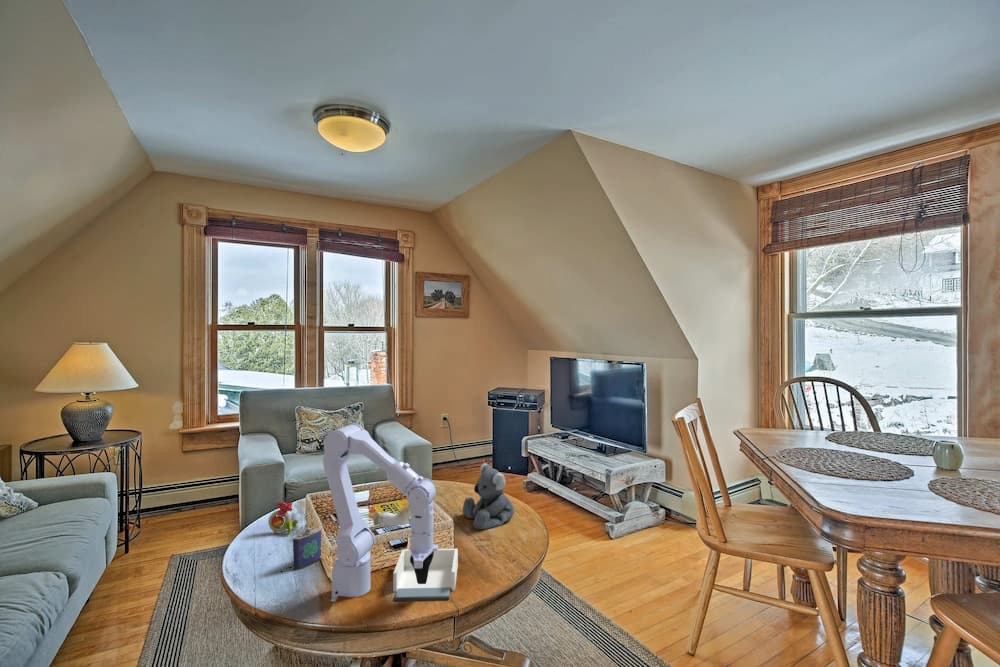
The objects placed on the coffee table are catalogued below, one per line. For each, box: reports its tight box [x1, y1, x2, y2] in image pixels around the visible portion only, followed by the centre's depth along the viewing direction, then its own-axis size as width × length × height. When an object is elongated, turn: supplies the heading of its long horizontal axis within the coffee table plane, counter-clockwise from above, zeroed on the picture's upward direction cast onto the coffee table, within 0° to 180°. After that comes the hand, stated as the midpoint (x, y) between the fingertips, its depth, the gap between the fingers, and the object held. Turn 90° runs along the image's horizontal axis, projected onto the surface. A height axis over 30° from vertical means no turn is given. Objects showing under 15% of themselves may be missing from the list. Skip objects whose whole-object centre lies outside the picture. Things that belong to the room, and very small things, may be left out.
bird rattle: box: [268, 501, 299, 535], centre depth 161 cm, size 6×11×9 cm
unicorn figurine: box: [372, 504, 411, 526], centre depth 153 cm, size 7×20×13 cm, turn 86°
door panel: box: [394, 587, 451, 602], centre depth 120 cm, size 14×1×5 cm
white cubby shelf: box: [392, 548, 459, 593], centre depth 129 cm, size 16×13×6 cm
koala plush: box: [462, 462, 515, 530], centre depth 172 cm, size 17×18×20 cm
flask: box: [292, 526, 322, 571], centre depth 140 cm, size 9×3×11 cm, turn 148°
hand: (422, 582), depth 119 cm, fingers closed
